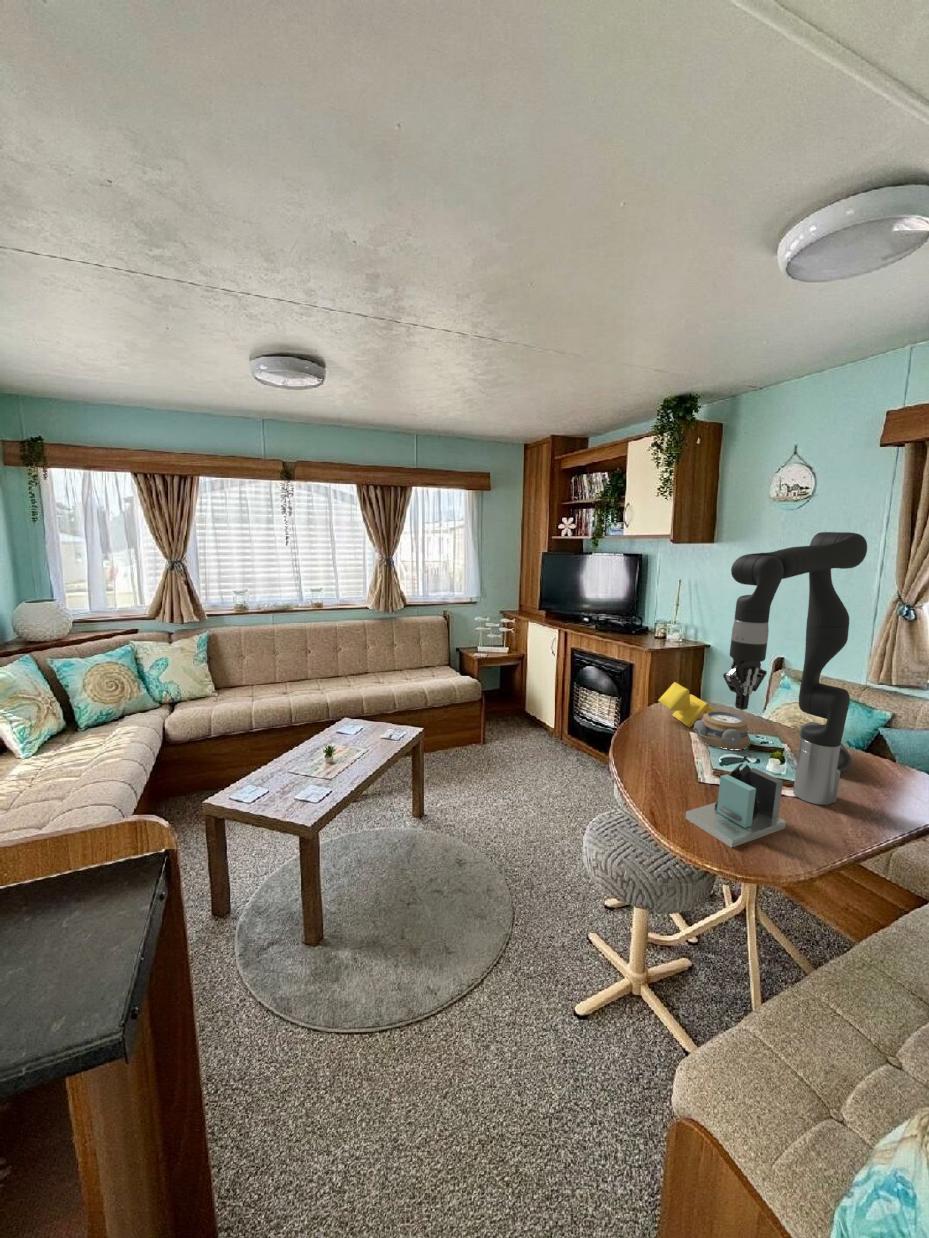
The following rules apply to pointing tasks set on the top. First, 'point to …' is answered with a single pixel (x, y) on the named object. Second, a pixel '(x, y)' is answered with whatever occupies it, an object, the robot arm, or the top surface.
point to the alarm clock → (722, 730)
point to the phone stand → (744, 777)
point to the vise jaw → (736, 800)
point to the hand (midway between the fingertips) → (741, 708)
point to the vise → (761, 823)
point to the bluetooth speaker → (844, 756)
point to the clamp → (684, 704)
